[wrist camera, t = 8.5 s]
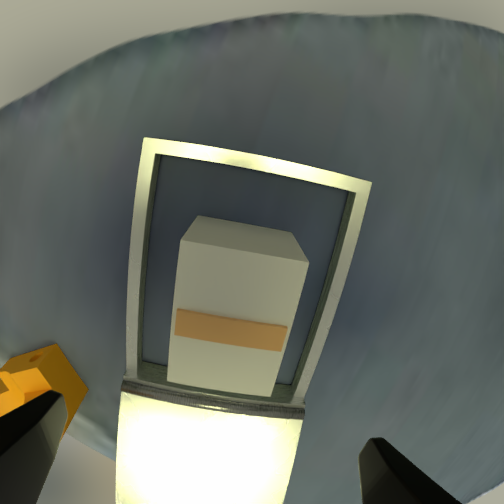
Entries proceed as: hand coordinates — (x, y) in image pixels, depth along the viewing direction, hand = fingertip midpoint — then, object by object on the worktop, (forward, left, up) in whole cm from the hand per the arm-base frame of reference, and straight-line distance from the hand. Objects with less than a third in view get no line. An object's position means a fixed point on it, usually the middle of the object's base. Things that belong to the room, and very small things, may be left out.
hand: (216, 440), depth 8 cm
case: (0, +6, -11) cm, 12 cm away
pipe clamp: (+15, +12, -11) cm, 22 cm away
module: (0, 0, -11) cm, 11 cm away
